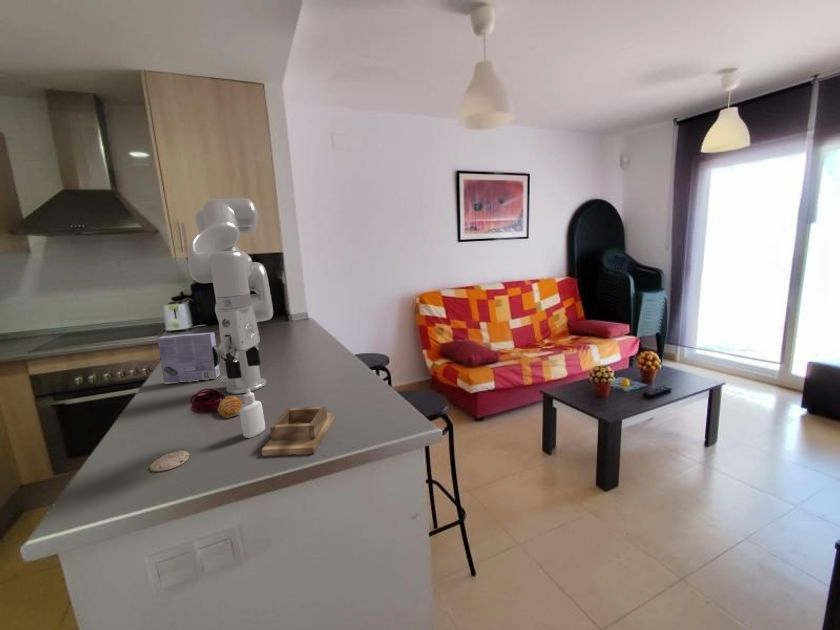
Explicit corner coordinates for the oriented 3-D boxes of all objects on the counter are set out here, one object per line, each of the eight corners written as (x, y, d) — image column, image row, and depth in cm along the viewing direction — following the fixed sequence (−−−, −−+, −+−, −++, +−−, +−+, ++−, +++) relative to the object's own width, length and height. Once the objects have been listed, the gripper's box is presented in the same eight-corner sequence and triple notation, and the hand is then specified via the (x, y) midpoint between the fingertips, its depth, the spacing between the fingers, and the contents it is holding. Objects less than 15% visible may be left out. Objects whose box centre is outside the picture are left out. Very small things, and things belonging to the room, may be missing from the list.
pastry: (246, 415, 111) (244, 402, 110) (220, 422, 107) (218, 409, 106) (241, 404, 118) (239, 393, 118) (217, 411, 115) (215, 399, 114)
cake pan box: (224, 375, 148) (216, 330, 145) (219, 379, 143) (211, 333, 140) (170, 381, 145) (161, 335, 142) (163, 385, 140) (154, 339, 137)
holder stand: (262, 455, 87) (259, 435, 86) (291, 419, 105) (289, 402, 104) (314, 453, 87) (311, 433, 86) (334, 417, 104) (332, 400, 103)
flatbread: (178, 471, 84) (177, 467, 84) (142, 475, 83) (141, 471, 83) (196, 451, 92) (196, 447, 92) (163, 454, 91) (163, 451, 91)
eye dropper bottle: (268, 432, 98) (261, 388, 96) (245, 440, 95) (237, 394, 93) (263, 426, 102) (257, 383, 100) (241, 433, 99) (234, 389, 96)
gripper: (230, 307, 83) (242, 382, 86) (265, 297, 100) (274, 360, 103) (197, 310, 84) (210, 384, 87) (237, 299, 101) (247, 362, 104)
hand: (245, 371), depth 95 cm, fingers open, 9 cm apart
